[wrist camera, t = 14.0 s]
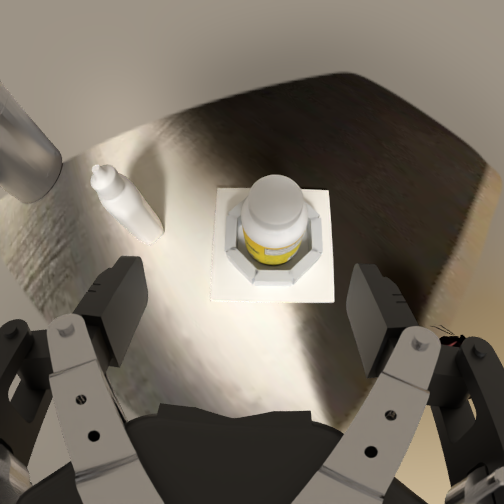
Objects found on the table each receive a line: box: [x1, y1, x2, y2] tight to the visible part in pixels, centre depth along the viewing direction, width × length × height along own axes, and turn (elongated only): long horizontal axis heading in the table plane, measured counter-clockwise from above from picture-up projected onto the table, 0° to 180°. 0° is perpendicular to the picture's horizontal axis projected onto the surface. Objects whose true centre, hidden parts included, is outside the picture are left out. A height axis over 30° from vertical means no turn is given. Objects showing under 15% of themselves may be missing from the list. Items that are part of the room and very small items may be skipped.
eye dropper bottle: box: [91, 164, 164, 245], centre depth 27 cm, size 4×6×12 cm
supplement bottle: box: [241, 175, 308, 267], centre depth 27 cm, size 5×5×10 cm
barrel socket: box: [210, 188, 334, 303], centre depth 30 cm, size 12×12×3 cm
